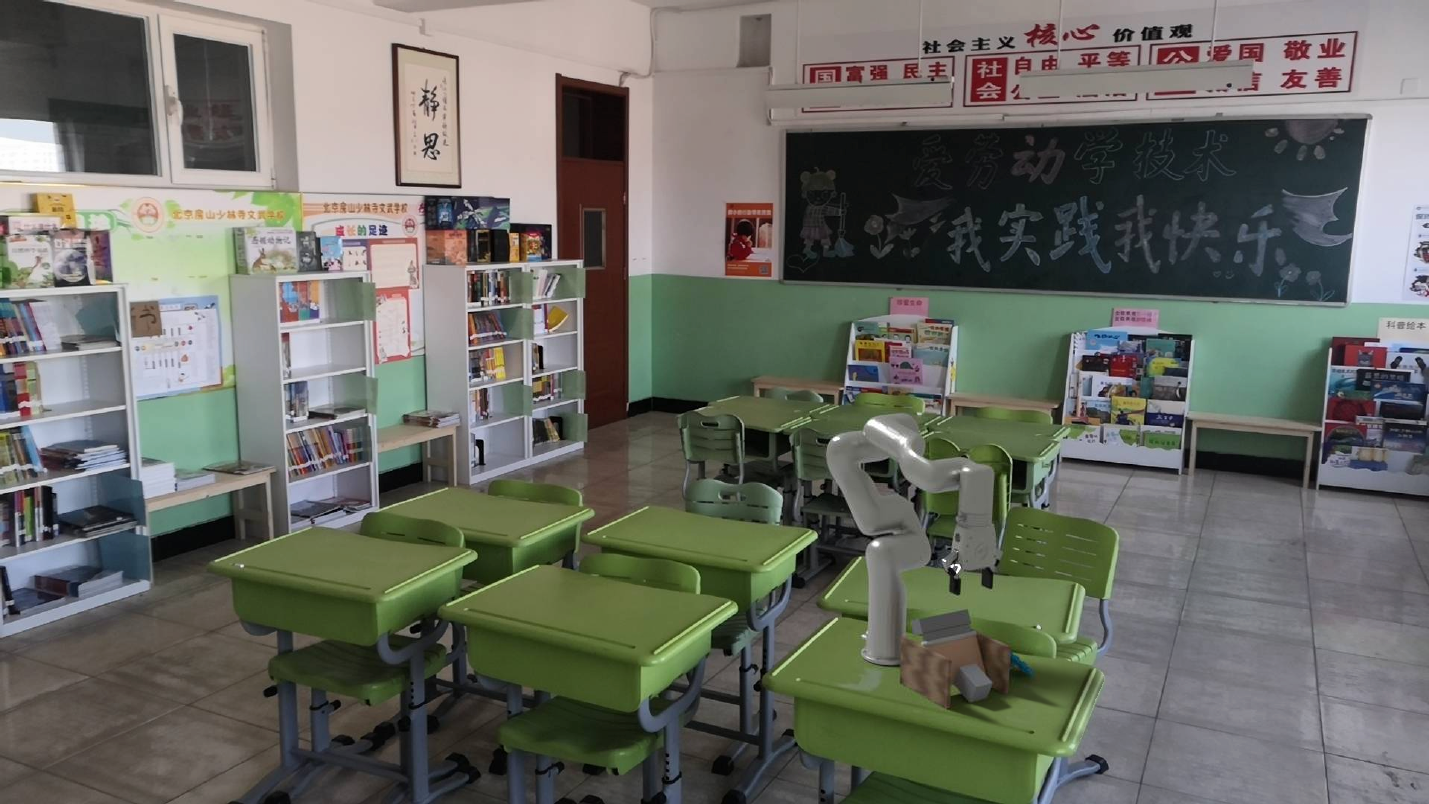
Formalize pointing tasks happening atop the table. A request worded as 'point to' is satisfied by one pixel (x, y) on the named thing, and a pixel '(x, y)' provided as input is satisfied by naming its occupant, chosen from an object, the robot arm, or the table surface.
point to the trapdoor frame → (934, 670)
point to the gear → (1019, 664)
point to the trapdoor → (950, 638)
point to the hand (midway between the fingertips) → (970, 590)
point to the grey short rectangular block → (972, 683)
